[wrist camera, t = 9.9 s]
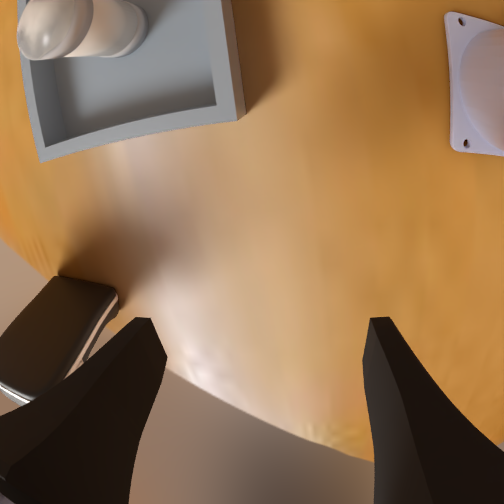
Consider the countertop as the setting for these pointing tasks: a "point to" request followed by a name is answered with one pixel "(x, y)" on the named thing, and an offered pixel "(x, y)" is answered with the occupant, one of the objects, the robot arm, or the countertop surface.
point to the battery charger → (53, 336)
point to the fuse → (80, 28)
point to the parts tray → (139, 81)
